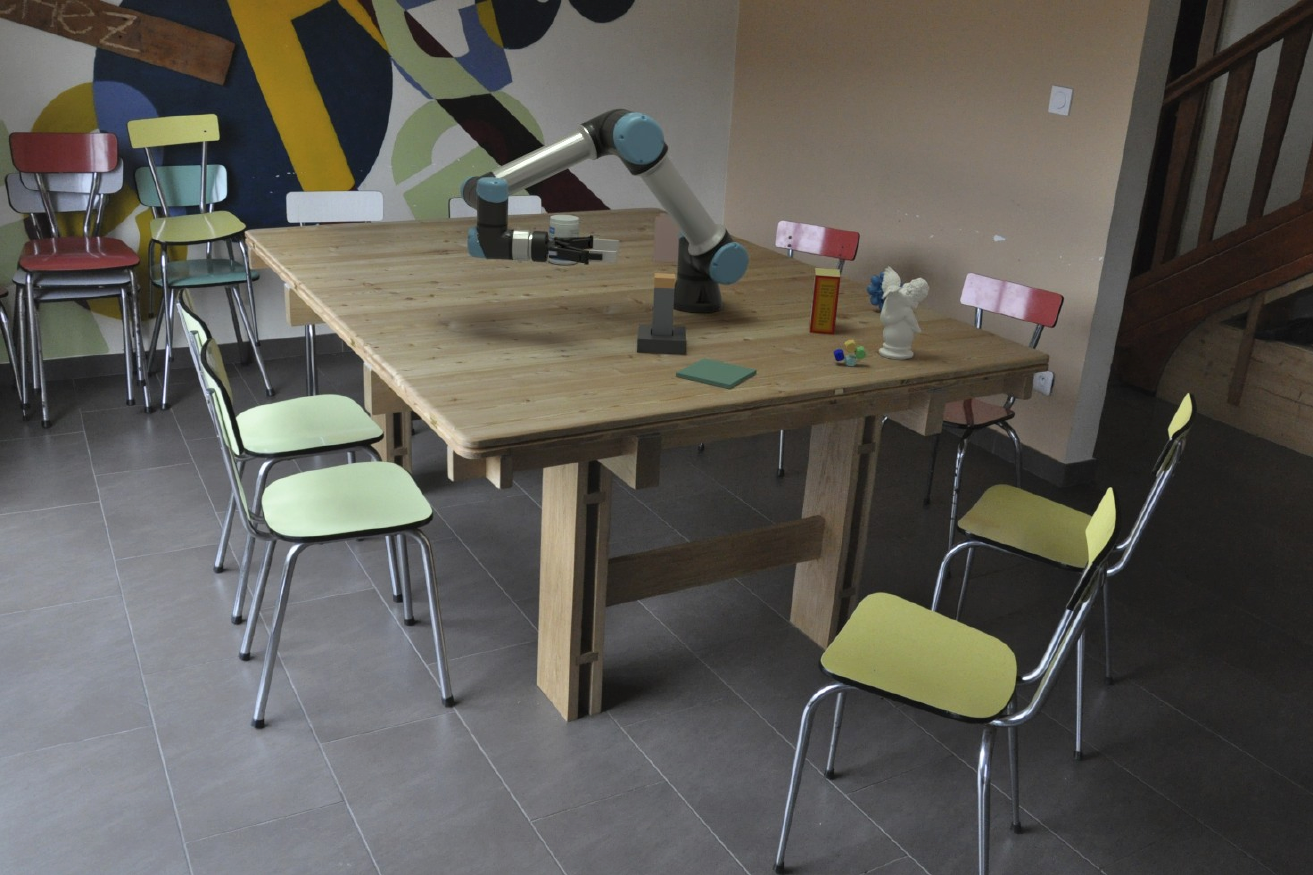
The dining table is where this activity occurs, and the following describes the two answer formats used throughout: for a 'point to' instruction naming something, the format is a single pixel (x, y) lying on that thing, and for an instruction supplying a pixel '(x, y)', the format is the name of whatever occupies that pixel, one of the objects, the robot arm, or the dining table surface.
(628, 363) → the dining table surface
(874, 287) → the grapes
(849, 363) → the dice
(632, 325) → the dining table surface
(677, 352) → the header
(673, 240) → the greeting card
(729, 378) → the mat
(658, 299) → the plug
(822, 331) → the baking soda box
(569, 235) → the supplement tub
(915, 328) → the cherub figurine
